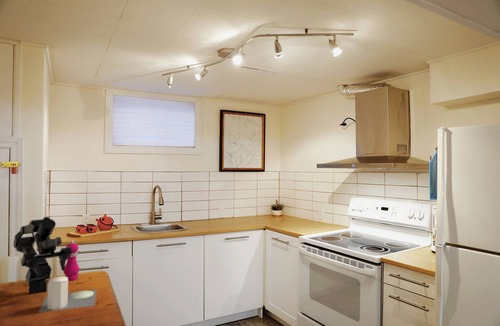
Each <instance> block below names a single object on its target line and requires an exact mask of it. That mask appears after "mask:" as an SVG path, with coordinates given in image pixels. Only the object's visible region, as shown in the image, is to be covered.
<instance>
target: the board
mask: <svg viewBox="0 0 500 326" xmlns="http://www.w3.org/2000/svg"><path fill="white" fill-rule="evenodd" d="M97 291H98V290H97V289H92V290H79V291H74V292H68V304H67V306H66V307H63V308H61V309H54V310H51V309H47V306H48V294H47V295H46V297H45V299H44V301H43V303H42V304H41V307H40V308H39V310H38V312H37V313H46V312H54V311H55V312H56V311H62V310H70V309H78V308H79V309H80V308H84V307H86V308H87V307H93V306H94V307H95V304H96V298H97Z"/></svg>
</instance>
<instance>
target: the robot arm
mask: <svg viewBox="0 0 500 326" xmlns="http://www.w3.org/2000/svg"><path fill="white" fill-rule="evenodd" d="M55 227H56V221H55V220H53V219H52V218H50V217H49V216H44V217H43V219H32V220H30V221H29V224H26V225H22V226H21V227H20V229H19V231H18V232H17V233H16V234H15V235H14V238H13V248H15V250H16V251H17V252H19V253H22V258H21V260H20V265H21V267H25V268H28V270H27V271H26V274H25V282H27V283H28V295H33V294H41V293H43V294H44V293H48V282H49V281H47V280H49V279H51V273H52V267H51V265H50V264H49V262H48V260H47V259H53V258H58V259H59V261H58V262H59V265H60V268H61V270H62V271H61V272H64V269H65V266H66V262H67V259H68V258H69V257H70V255H71V253H72V248H70V247H66V246H65V247H62V248H60V250H59V251H56V250H57V248H56V247H58V246H60V245H62V238H61V237H60V236H58V237H57V236H56V237H55V238H52V239H51V235H52V234H53V232H54V229H55ZM30 234H31V235H30ZM24 235H30V236H24ZM22 236H23V237H22ZM34 245H36V249H35V248H34ZM37 252H38V253H37Z"/></svg>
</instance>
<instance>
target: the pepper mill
mask: <svg viewBox="0 0 500 326" xmlns="http://www.w3.org/2000/svg"><path fill="white" fill-rule="evenodd" d="M66 247H70V248H72V253H71V255H70V257H69V258H68V259H67V260H66V262H65V269H64V271H63V274H64V277H68V282H72V281H76V280H78V279H79V275H78V274H79V272H80V266H79V264H78V261H77V256H78V251H79V245H78V244H77V243H75V241H74V240H70V243H69V244H67V245H66V246H65V248H66Z"/></svg>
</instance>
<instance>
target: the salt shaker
mask: <svg viewBox="0 0 500 326" xmlns="http://www.w3.org/2000/svg"><path fill="white" fill-rule="evenodd" d="M47 282H48V284H47V295H48V306H47V309H51V310H54V309H61V308H63V307H66V306H67V304H68V293H69V281H68V277H65V275H63V276H55V277H50V279H48V281H47Z"/></svg>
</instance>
